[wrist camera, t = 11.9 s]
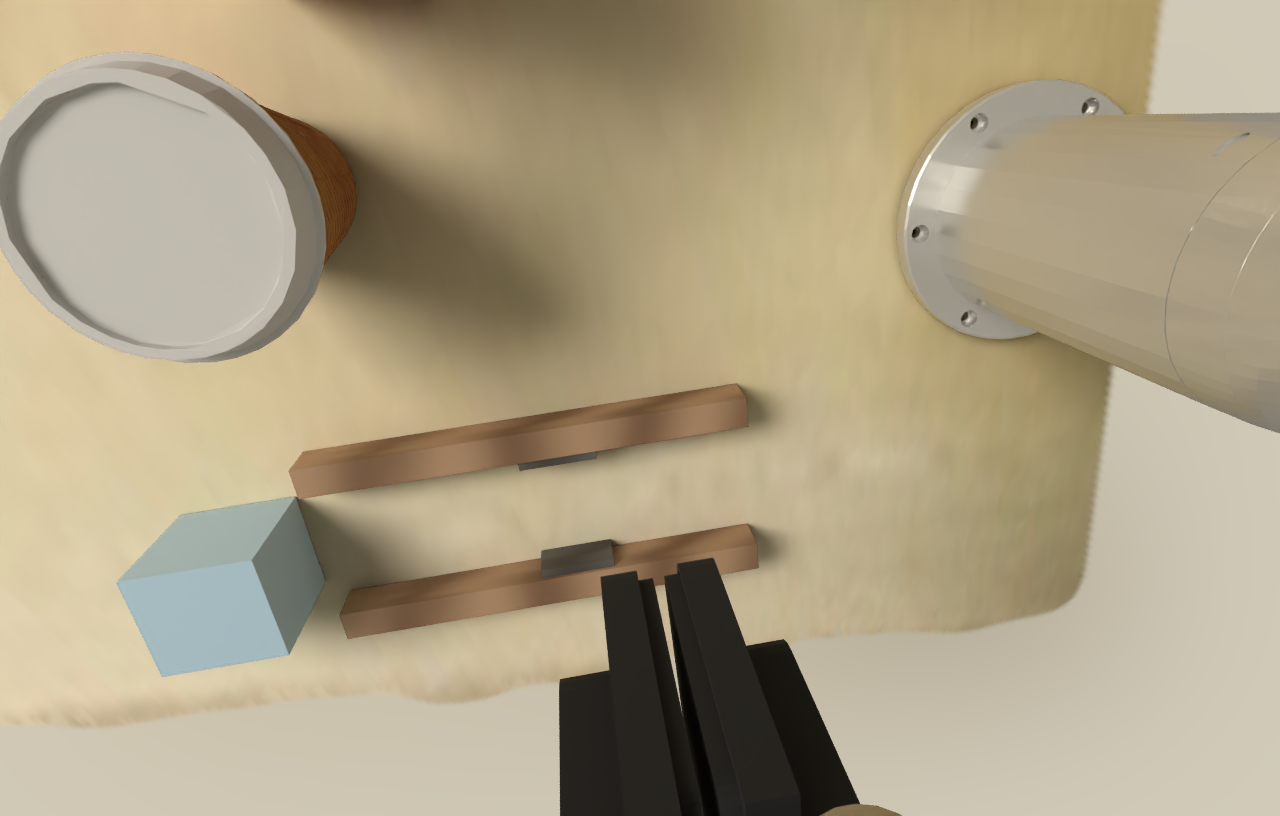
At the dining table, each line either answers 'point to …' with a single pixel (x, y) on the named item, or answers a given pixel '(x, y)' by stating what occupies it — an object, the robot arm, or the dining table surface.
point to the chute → (530, 448)
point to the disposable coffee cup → (167, 207)
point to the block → (225, 587)
